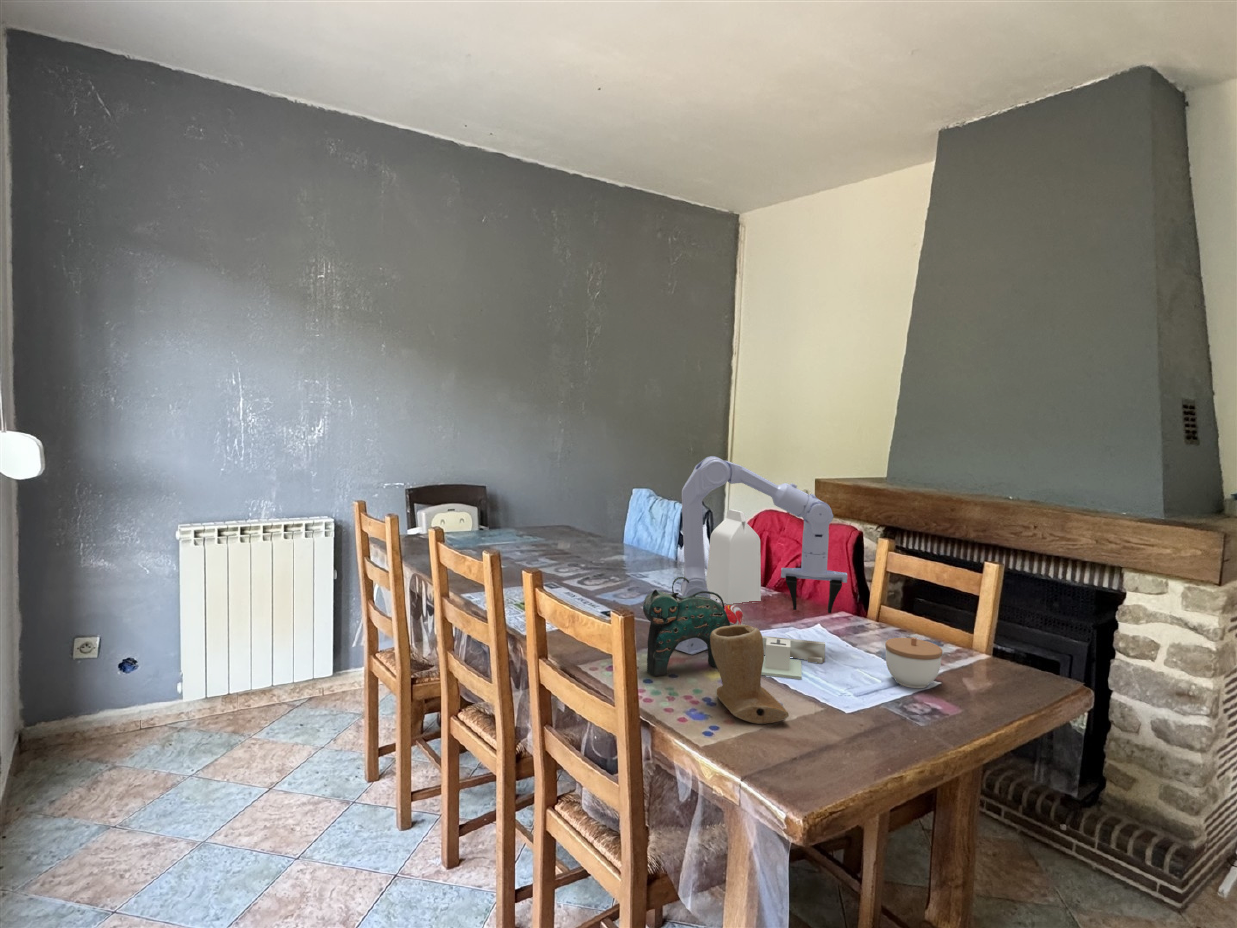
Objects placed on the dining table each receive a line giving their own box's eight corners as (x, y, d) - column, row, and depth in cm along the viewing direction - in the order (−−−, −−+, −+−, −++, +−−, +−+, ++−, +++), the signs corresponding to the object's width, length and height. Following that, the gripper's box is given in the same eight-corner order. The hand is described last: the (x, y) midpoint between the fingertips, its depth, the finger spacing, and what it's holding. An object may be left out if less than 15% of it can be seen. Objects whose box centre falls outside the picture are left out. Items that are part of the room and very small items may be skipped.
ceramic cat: (648, 680, 141) (651, 582, 139) (635, 668, 147) (638, 574, 145) (733, 669, 148) (737, 576, 147) (718, 658, 154) (721, 569, 153)
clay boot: (700, 693, 134) (703, 617, 133) (760, 692, 136) (763, 616, 135) (723, 729, 119) (726, 643, 118) (789, 726, 121) (793, 642, 120)
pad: (801, 662, 153) (801, 660, 153) (801, 679, 143) (801, 676, 143) (754, 657, 155) (754, 655, 155) (751, 673, 146) (751, 670, 145)
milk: (705, 594, 209) (708, 508, 207) (737, 591, 214) (740, 507, 212) (727, 605, 198) (731, 514, 196) (760, 601, 203) (764, 512, 201)
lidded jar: (872, 676, 146) (874, 632, 146) (912, 670, 150) (915, 628, 149) (910, 695, 136) (912, 648, 136) (952, 689, 140) (955, 643, 139)
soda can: (746, 630, 172) (744, 648, 161) (718, 631, 174) (713, 649, 163) (743, 602, 172) (740, 618, 160) (715, 603, 174) (709, 619, 162)
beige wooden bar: (823, 658, 156) (824, 640, 156) (824, 664, 152) (825, 646, 152) (733, 648, 161) (734, 631, 161) (732, 653, 157) (732, 636, 157)
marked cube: (789, 662, 151) (790, 639, 151) (789, 670, 146) (790, 646, 146) (765, 659, 152) (766, 636, 152) (764, 667, 148) (765, 644, 147)
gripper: (846, 551, 162) (843, 608, 163) (782, 546, 165) (780, 603, 166) (849, 556, 155) (846, 617, 156) (782, 552, 158) (779, 610, 159)
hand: (812, 610), depth 161 cm, fingers open, 7 cm apart
